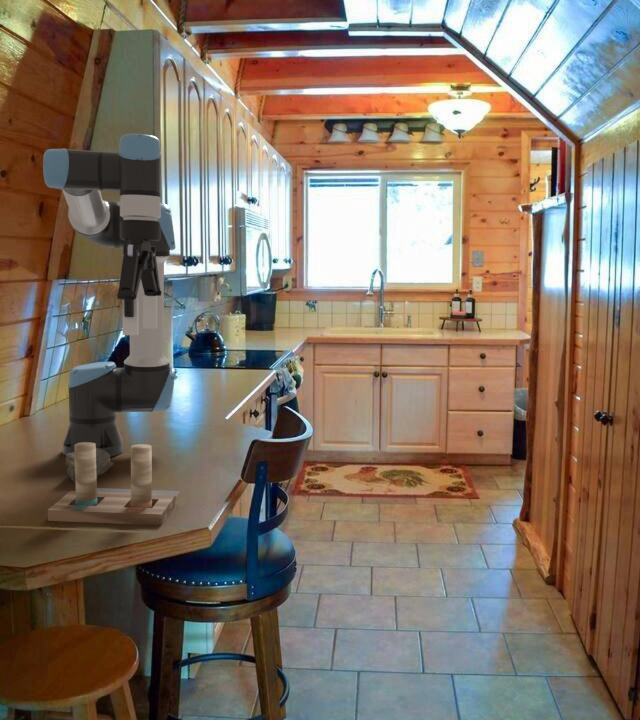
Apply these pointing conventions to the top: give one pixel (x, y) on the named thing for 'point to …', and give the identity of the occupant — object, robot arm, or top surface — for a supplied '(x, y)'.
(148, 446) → the peg
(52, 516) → the socket board
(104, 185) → the robot arm
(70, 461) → the rock
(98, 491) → the mat
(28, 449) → the top surface
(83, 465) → the peg
